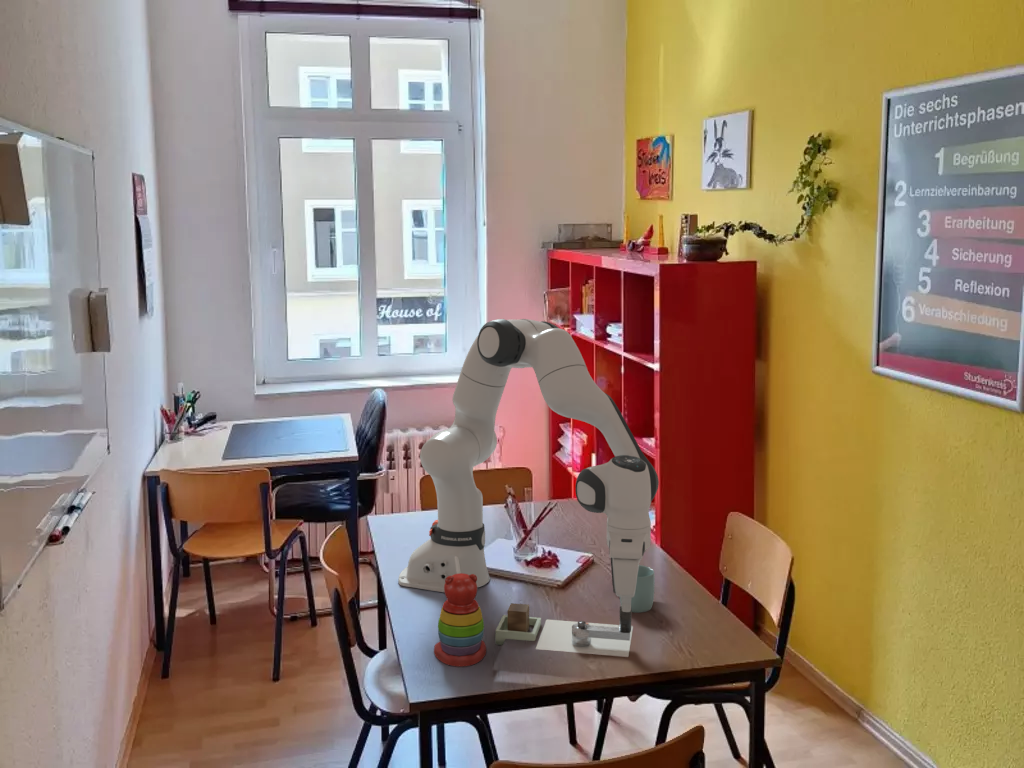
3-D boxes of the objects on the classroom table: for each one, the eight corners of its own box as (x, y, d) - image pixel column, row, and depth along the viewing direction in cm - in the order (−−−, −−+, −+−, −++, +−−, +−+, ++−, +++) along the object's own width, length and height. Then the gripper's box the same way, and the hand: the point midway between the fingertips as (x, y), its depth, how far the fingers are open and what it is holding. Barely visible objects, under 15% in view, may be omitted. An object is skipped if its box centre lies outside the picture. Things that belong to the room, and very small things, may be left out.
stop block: (507, 637, 207) (507, 610, 206) (511, 629, 211) (511, 603, 210) (526, 638, 206) (526, 612, 205) (529, 630, 210) (529, 604, 209)
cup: (612, 609, 224) (613, 567, 222) (642, 603, 227) (643, 562, 225) (629, 621, 217) (630, 579, 215) (659, 616, 220) (661, 574, 218)
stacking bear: (484, 644, 206) (484, 563, 203) (490, 665, 196) (489, 581, 193) (433, 647, 204) (432, 566, 201) (436, 669, 194) (435, 584, 191)
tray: (495, 644, 205) (495, 630, 205) (503, 627, 214) (503, 614, 213) (534, 647, 204) (534, 634, 203) (540, 630, 212) (541, 617, 212)
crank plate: (535, 655, 200) (535, 648, 200) (546, 625, 215) (546, 619, 214) (628, 663, 197) (628, 656, 196) (632, 632, 211) (633, 625, 211)
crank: (570, 645, 200) (571, 607, 199) (573, 637, 204) (573, 599, 203) (630, 650, 198) (630, 611, 197) (631, 642, 202) (632, 604, 201)
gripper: (616, 520, 207) (616, 582, 209) (608, 552, 187) (608, 620, 189) (646, 521, 206) (645, 583, 208) (641, 554, 186) (641, 622, 188)
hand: (628, 601), depth 199 cm, fingers open, 8 cm apart
